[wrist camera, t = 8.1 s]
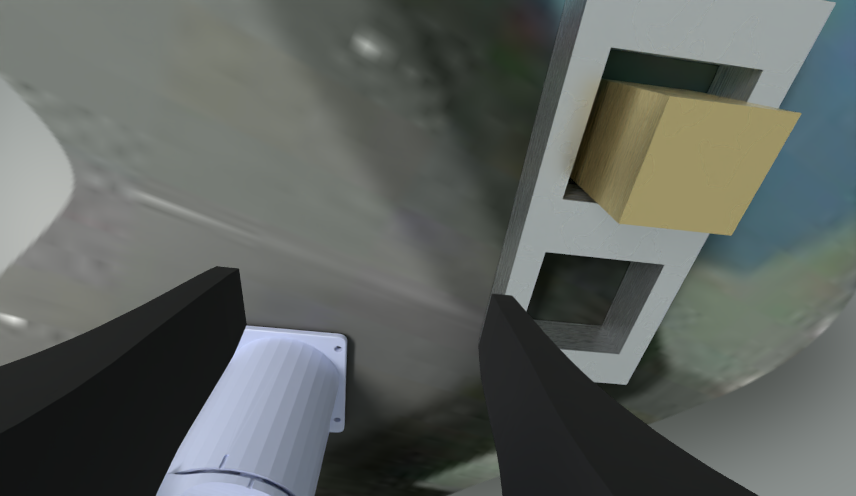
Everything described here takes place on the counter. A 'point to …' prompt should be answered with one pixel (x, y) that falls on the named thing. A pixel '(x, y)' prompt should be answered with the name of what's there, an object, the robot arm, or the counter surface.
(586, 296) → the counter surface
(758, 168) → the wooden block
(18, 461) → the robot arm
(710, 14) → the white block holder tray
